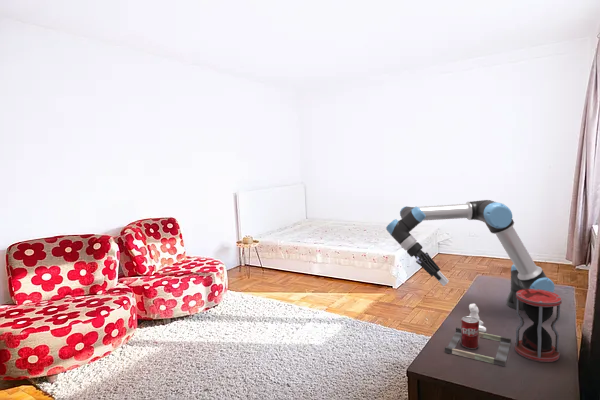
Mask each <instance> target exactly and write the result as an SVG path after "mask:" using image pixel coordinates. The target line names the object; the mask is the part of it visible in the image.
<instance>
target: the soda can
mask: <svg viewBox="0 0 600 400" xmlns="http://www.w3.org/2000/svg"><path fill="white" fill-rule="evenodd" d="M460 328H461V337H460V344H461V346H462V347H464V348H466V349H469V350H470V349H471V350H476V349H477V348H479V346H480V337H479V332H480V331H479V321H478V319H476V318H474V317H470V316H469V315H468V316H467V315H466V316H463V317H462V318H461V319H460Z"/></svg>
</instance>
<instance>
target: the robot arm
mask: <svg viewBox="0 0 600 400" xmlns="http://www.w3.org/2000/svg"><path fill="white" fill-rule="evenodd" d="M399 216H400V218H401V219H400V220H398V219H397V218H396V219H395V218H394V219H393V220H392V221H391V222H390V223H388V224H387V225H386V228H385V230H386V231H387V232H388V233H389V235H390V236H391V237H392V238H393V239H394V240H395V241H396V242H397V243H398V245H400V247H401V248H402V249H404V251H406V253H407V254H408V255H409V256H410V258H411V257H414V258H415V259H416V260H415V263H417V264H418V265H419V266H420V267H421V268H422V269H423V270H424V271H426V273H427V274H429V276H430V277H434V278H435V279H436V280H437V281H438V283H440V285H442V287H445V286H446V285H447V284H448V283H449V282H450V279H448V278H447V276H445V275H444V274H443V273H442V271H440V270H441V267H439V266H438V264H437V263H436V262H435V261H434V259H433V258H432V257H431V256H430V254H429V253H428V252H427V251H426V252H424V251H423V250H422V249H423V246H422V245H421V244H420V242H418V241H417V239H416V238H415V237H414V236H413V235H412V234H411V231H412V230H414V229H415V228H416V227H417V226H418V225H419V224H421V223H422V222H423V221H439V220H442V221H443V220H457V219H459V220H460V219H466V220H469V221H480V222H483V223H484V224H485V225H486V227H487V228H488V230H489V232H490V233H491V234H493V235H496V237H497V239H498V241H499V242H500V244H501V246H502V247H503V249H504V250H505V252H506V255H508V257H509V259H510V261H511V262H512V265H511V268H510V291H509V292H508V293H509V294H508V296H507V299H506V305H507V306H508V307H509V308H511V309H514V310H516V311H517V297H516V292H517V291H519V290H522V289H539V290H545V291H549V292H552V293H555V292H554V291H555V289H556V288H555V283H554V282H553V281H552V280H551V279H550V278H549V277H547V275H546V273H545V272H544V270H543V268H542V267H541V266H538V265H536V263H535V262H534V260H533V257H532V256H531V254H530V253H529V252H528V250H527V248H526V246H525V245H524V243H523V241H522V240H521V238H520V236H519V235H518V233H517V231H516V230H515V227H514V224H515V222H514V219H513V212H512V210H511V209H510V208H509V207H508V206H507V205H505V204H504V203H501V202H497V201H494V200H492V199H491V200H490V199H482V200H473V201H467V202H466V203H459V204H458V203H457V204H444V205H443V204H441V205H428V206H427V205H425V206H424V205H423V206H403V207H402V208H401V209H400V211H399ZM521 311H522V312H524V309H523V302H522V301H520V312H521Z"/></svg>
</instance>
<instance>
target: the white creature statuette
mask: <svg viewBox="0 0 600 400" xmlns="http://www.w3.org/2000/svg"><path fill="white" fill-rule="evenodd" d="M468 309H469V311H470V313H469V315H468V316H470V317H474V318H476V319H478V321H479V332H482V333H487V327H485V326H484V321H482V320H481V319H480V318H481V317H480V316H479V312H480V310H479V307H478V306H477V304H476V303H470V304H469V305H468Z"/></svg>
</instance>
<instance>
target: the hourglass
mask: <svg viewBox="0 0 600 400" xmlns="http://www.w3.org/2000/svg"><path fill="white" fill-rule="evenodd" d="M516 297H517V310H516V316H517V317H518V318H519V320H520V321H519V322H520V323H519V326H517V327H516V330H515V343H514V350H515V352H516V353H518V354H519V356H522V357H524V358H526V359H528V360H531V361H535V362H541V363H552V362H556V361H558V360H560V351H559V349H560V348H559V346H560V343H559V342H560V334H559V332H558V330H557V329H556V324H557V322H559V320H560V318H561V304H562V302H563V301H562V299H563V298H562V297H561V296H560V295H559V294H557V293H555V292H553V293H552V292H549V291H545V290H539V289H522V290H519V291H517V292H516ZM520 301H522V302H523V309H524V311H523V312H524V313H525V315H526V316H527V318H528V319H529V320H530V321H531V322H532V323H533V324H531V325H530V326H529V327H527V328H526V329H525V330H524V331H523V332H522V337H521V338H522V339H520V330H521V328H522V327H524V324H525V319H524V318H523V317H522V314H521V313H520V312H521V310H520ZM554 307H556V315H555V316H556V318H555V319H554V320H553V321H552V322H551V324H550V327H551V330H552V332H554V335H555V343H554V345H553V341H552V340H553V339H552V336H551V334H550V333H549V332H548V331H547V329H546V328H545V327H544V326H543V323H545V322H547V321H548V320H549V319H550V318H551V317H552V316H553V315H554Z"/></svg>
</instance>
